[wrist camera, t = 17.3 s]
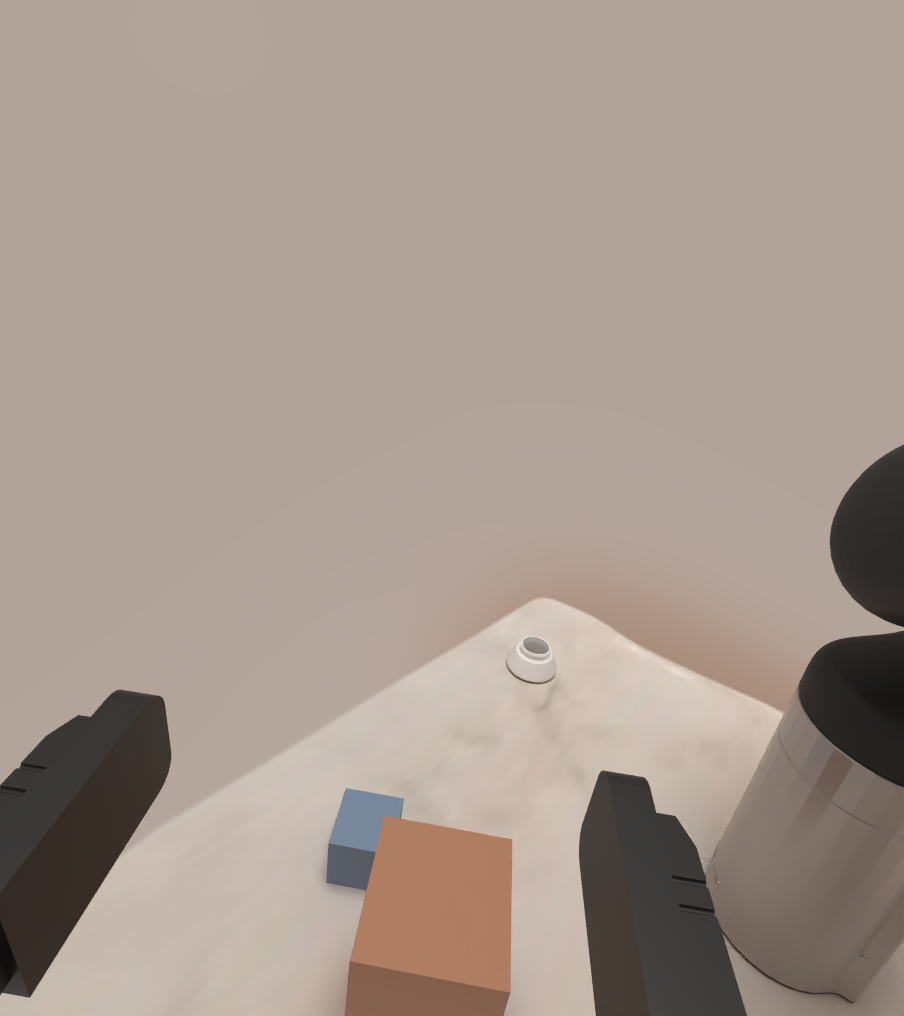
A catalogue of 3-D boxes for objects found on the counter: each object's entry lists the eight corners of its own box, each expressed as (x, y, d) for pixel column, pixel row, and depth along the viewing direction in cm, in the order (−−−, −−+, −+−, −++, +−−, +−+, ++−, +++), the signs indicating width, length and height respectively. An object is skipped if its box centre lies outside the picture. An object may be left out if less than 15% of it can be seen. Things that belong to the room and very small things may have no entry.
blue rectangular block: (398, 837, 41) (403, 798, 39) (386, 894, 37) (392, 855, 36) (343, 826, 41) (345, 788, 39) (326, 883, 37) (328, 843, 36)
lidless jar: (496, 667, 58) (539, 693, 56) (501, 644, 57) (545, 669, 55) (521, 645, 62) (563, 668, 60) (527, 623, 61) (569, 645, 58)
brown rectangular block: (476, 977, 34) (512, 839, 28) (466, 1130, 28) (510, 992, 23) (368, 956, 34) (384, 815, 29) (337, 1103, 28) (349, 961, 23)
